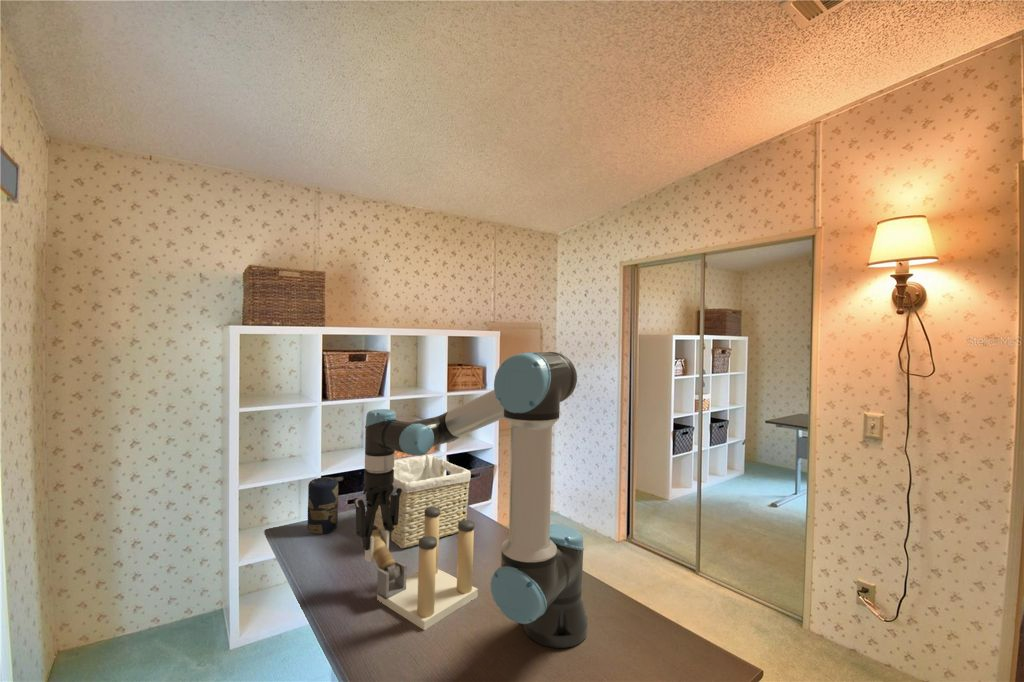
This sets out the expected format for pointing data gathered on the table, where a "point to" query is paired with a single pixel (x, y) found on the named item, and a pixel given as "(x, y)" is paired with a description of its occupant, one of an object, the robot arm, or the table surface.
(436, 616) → the stool seat
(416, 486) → the basket
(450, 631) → the table surface
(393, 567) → the hinged leg
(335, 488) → the canister
